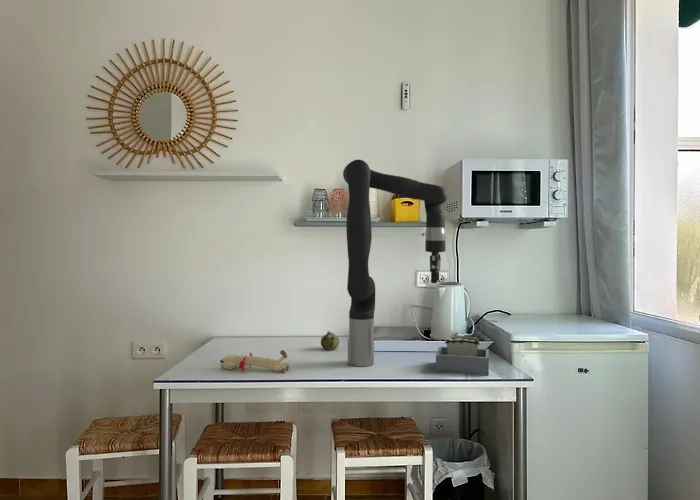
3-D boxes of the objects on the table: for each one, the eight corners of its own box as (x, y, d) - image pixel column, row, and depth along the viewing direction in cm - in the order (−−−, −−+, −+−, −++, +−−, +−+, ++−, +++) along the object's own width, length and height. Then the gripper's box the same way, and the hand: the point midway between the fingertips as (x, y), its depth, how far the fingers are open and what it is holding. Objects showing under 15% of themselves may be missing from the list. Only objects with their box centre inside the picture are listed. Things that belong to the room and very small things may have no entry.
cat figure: (290, 371, 197) (225, 363, 201) (292, 348, 197) (227, 339, 201) (281, 379, 187) (214, 369, 192) (283, 354, 187) (215, 345, 191)
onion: (343, 349, 226) (343, 330, 225) (326, 352, 221) (326, 333, 221) (333, 346, 232) (333, 328, 232) (317, 349, 227) (317, 330, 227)
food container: (479, 363, 199) (479, 336, 199) (479, 367, 193) (480, 339, 193) (445, 361, 201) (445, 335, 201) (444, 365, 195) (444, 338, 195)
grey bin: (435, 371, 191) (435, 355, 191) (439, 362, 205) (439, 346, 204) (488, 375, 187) (488, 358, 186) (488, 365, 200) (488, 349, 200)
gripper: (443, 239, 198) (443, 284, 199) (446, 239, 212) (446, 280, 213) (423, 239, 200) (423, 283, 201) (427, 238, 214) (427, 279, 215)
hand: (435, 281), depth 207 cm, fingers open, 8 cm apart
